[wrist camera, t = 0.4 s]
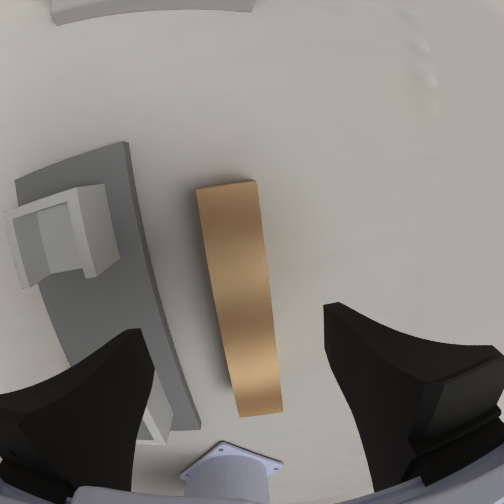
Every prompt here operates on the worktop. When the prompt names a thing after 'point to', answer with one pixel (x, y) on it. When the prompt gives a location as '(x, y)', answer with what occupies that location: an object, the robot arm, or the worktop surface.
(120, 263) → the bracket board
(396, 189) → the worktop surface
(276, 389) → the rail
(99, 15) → the grey stand
